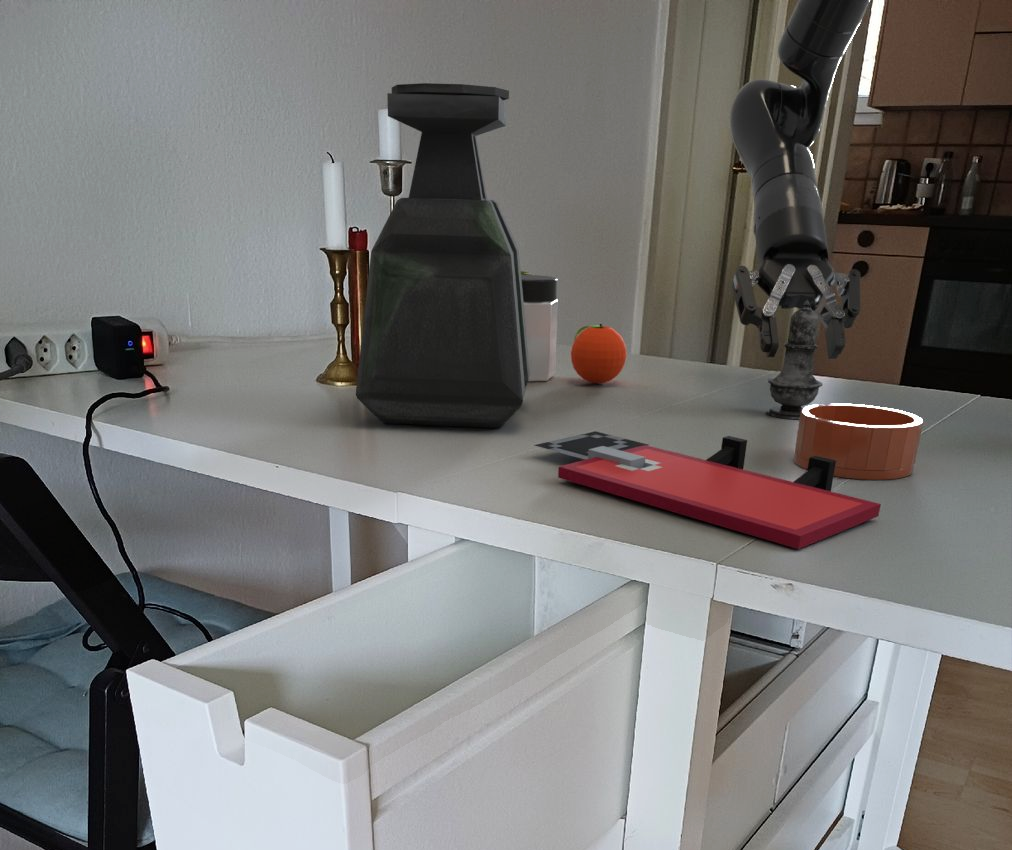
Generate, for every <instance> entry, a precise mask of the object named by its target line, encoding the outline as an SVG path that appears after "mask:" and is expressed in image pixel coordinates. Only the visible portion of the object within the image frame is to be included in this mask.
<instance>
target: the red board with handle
mask: <svg viewBox="0 0 1012 850" xmlns="http://www.w3.org/2000/svg"><path fill="white" fill-rule="evenodd" d="M747 445H748V439H744V438H741V437H740V438H739V437H735V436H732V435H726V436H723V437H722V440H721V449H719V451H717V452H715V453H713V454H712V455H711V456H709V457H708V458H706V459H702V458H700V457H695V456H690V455H687V454H684V453H680V452H679V453H678V452H675V451H670V450H667V449H663V448H660V447H656V446H651V445H649V443H644V442H640V441H636V440H632V439H628V438H624V437H619V436H616V435H612V434H607V433H604V432H600V431H591V432H586V433H582V434H577V435H573V436H569V437H564V438H559V439H555V440H550V441H546V442H541V443H536V444H533V446H534V447H538V448H541V449H546V450H549V451H552V452H557V453H560V454H563V455H567V456H570V457H574V458H578V459H582V460H580V461H575V462H571V463H568V464H567V463H566V464H563V465H560V466H558V469H557V470H558V475H557V478H558V479H560V480H564V481H568V482H571V483H574V484H578V485H581V486H585V487H588V488H592V489H594V490H598V491H602V492H605V493H608V494H612V495H614V496H618V497H622V498H626V499H629V500H632V501H635V502H639V503H642V504H645V505H648V506H652V507H655V508H659V509H662V510H666V511H668V512H672V513H674V514H675V513H676V514H678V515H682V516H686V517H689V518H692V519H696V520H698V521H702V522H705V523H709V524H712V525H716V526H719V527H722V528H726V529H729V530H733V531H736V532H739V533H743V534H746V535H749V536H752V537H756V538H759V539H763V540H766V541H770V542H774V543H777V544H780V545H783V546H786V547H788V548H789V547H790V548H792V549H797V550H800V549H803V548H804V547H807V546H810V545H812V544H814V543H817V542H819V541H822V540H825V539H826V538H829V537H832V536H834V535H836V534H838V533H841V532H843V531H847V530H848V529H851V528H853V527H856V526H859V525H861V524H863V523H865V522H868V521H870V520H873V519H875V518H877V517H879V516H880V515H879V514H880V511H881V503H878V502H874V501H869V500H866V499H863V498H858V497H854V496H851V495H846V494H842V493H840V492H839V493H838V492H834V491H832V486H833V481H834V477H835V476H834V470H835V464H836V460H832V459H828V458H823V457H819V456H813V457H810V458H809V463H808V469H806V471H805V472H804V473H802V474H801V475H800V476H799V477H797V478H796V479H795V480H793V481H791V480H786V479H782V478H779V477H775V476H770V475H766V474H764V473H763V474H762V473H758V472H755V471H750V470H746V469H744V468H745V461H746V460H745V459H746V452H747Z"/></svg>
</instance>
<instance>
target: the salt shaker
mask: <svg viewBox="0 0 1012 850" xmlns="http://www.w3.org/2000/svg"><path fill="white" fill-rule="evenodd" d="M803 305H804V308H802V309H799V310H796V311H794V312H793V313H792V315H791V316H790V322H789V330H788V336H787V341H786V342H785V343H783V347H784V348H785V352H784V358H783V359H784V361H783V365H782V367H781V370H780V372H779V373H778V374H777V375H776V376H774V377H773V376H772V377H770V378H768V379H767V383H769V392H770V393H769V394H770V397H771V398H772V399H773V400H774V402H776V403H778V404H780V405H778V406H772V407H770V408H769V409H767V410H766V412H765V413H766V415H768V416H770V417H774V418H778V419H785V420H786V419H787V420H800V413H801V409H802V408H803V407H804V406H809V405H810V404H811V403H812V402H813V401H815V400H816V398H817V396H818V394H819V389H820V387H822V386H823V384H824V383H823V382H822V381H820V380H817V379H816V378H815V376H814V374H813V361H814V353H815V350H816V349H818V347H819V346H818V345H817V344H816V342H815V341H816V336H817V331H818V322H819V319H818V316H817V314H816V313H815V312H813V311H811V309H809V307H808V306H809V305H810V304H809V302H808V300H807V301H806V302H805V304H803Z"/></svg>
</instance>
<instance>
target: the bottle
mask: <svg viewBox="0 0 1012 850" xmlns="http://www.w3.org/2000/svg"><path fill="white" fill-rule="evenodd" d="M386 95H387V117H389V118H390V119H393V120H395V121H397V122H400V123H401V124H404V125H406V126H408V127H410V128H412V129H414V130H416V131H418V132H421V134H420V139H419V145H418V148H417V153H416V154H417V155H416V158H415V164H414V169H413V174H412V178H411V184H410V188H409V194H408V197H401V198H398V199H397V200H396V201H395V204H394V206H393V208H392V209H391V211H390V214H389V215H388V217H387V220H386V221H385V223H384V225H383V227H382V229H381V231H380V233H379V235H378V237H377V239H376V241H375V243H374V245H373V247H372V248H371V251H370V259H369V269H368V277H367V285H366V286H367V287H366V295H365V303H364V304H365V305H364V313H363V322H362V333H361V341H360V349H359V350H360V351H359V358H358V359H359V360H358V367H357V377H356V386H355V397H356V399H357V400H358V401H359V402H360V403H361V404H362V405H363V406H364V407H365V408H366V409H367V410H369V412H370V413H372V414H373V415H374V416H375V417H376V418H377V419H378V420H379V421H380V422H381V423H383V424H391V425H393V424H394V425H413V426H415V425H417V426H441V427H463V428H484V429H485V428H489V429H501V428H502V427H503V426H504V425H505V424H506V423H507V422H508V421H509V420H510V418H512V416H513V415H514V414H515V413H516V412H517V411H518V410H519V409H520V408H521V407H522V405H523V402H524V398H525V395H526V387H527V386H528V385H529V384H528V383H529V382H528V380H529V377H530V366H529V355H528V344H527V333H526V323H525V312H524V301H523V290H522V280H521V271H522V269H521V260H520V248H519V247H518V245H517V242H516V240H515V238H514V235H513V233H512V231H511V229H510V226H509V225H508V223H507V220H506V218H505V215H504V214H503V211H502V209H501V207H500V205H499V203H498V201H496V200H494V199H488V195H487V189H486V185H485V179H484V173H483V168H482V162H481V157H480V156H481V155H480V151H479V145H478V141H477V136H480V135H483V134H486V133H489V132H491V131H495V130H497V129H501V128H504V127H506V126H507V104H506V103H505V102H504V101H506V100H509V98H510V90H509V89H508V90H507V89H504V88H500V87H496V86H488V85H486V86H485V85H475V84H465V83H431V82H427V83H426V82H422V83H403V84H396V85H394V86H391V93H390V92H389V93H387V94H386Z"/></svg>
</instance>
